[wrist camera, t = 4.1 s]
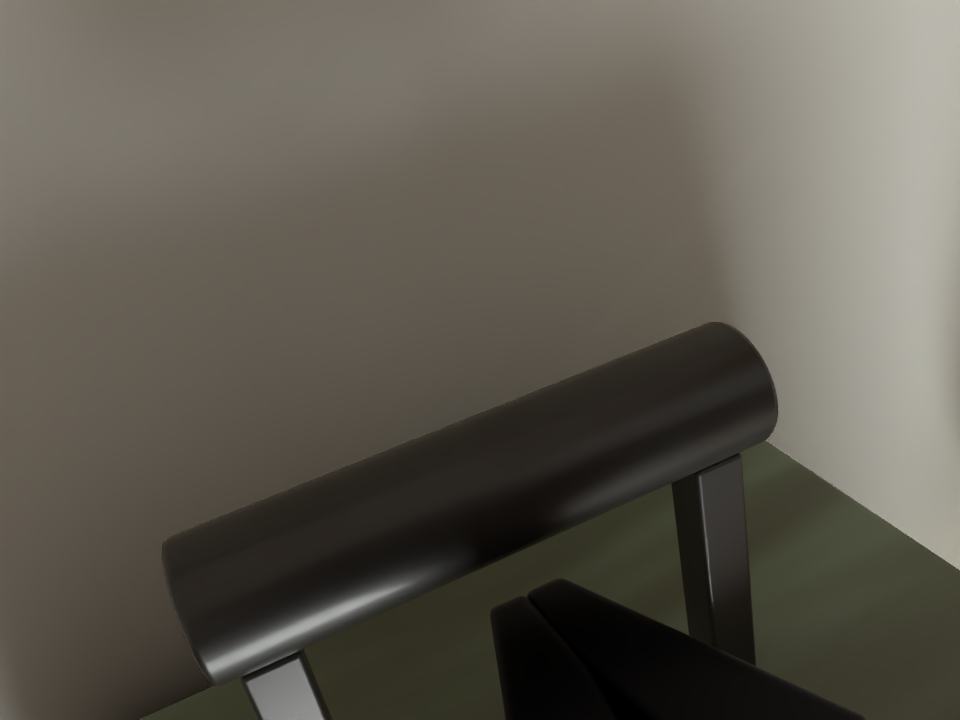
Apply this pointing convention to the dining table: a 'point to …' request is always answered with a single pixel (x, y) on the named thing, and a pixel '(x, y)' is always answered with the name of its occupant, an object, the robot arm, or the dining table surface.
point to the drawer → (565, 555)
